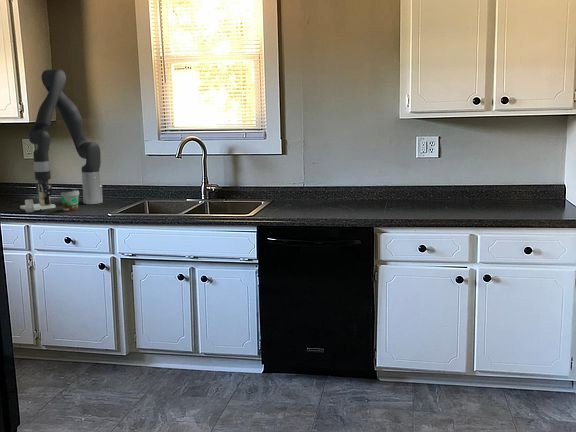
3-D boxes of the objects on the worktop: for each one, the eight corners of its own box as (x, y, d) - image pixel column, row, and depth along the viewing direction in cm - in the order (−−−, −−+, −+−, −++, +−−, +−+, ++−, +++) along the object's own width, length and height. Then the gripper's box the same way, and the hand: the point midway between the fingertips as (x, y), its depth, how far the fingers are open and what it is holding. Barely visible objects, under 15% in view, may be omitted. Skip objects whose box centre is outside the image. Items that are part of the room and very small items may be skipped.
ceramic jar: (31, 210, 338) (31, 199, 337) (35, 211, 335) (34, 200, 334) (24, 211, 335) (23, 200, 334) (27, 212, 332) (26, 200, 331)
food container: (72, 212, 332) (71, 192, 330) (61, 212, 333) (60, 192, 331) (85, 208, 344) (84, 189, 342) (74, 208, 345) (73, 189, 343)
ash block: (47, 204, 339) (46, 190, 338) (50, 205, 336) (49, 191, 335) (39, 205, 336) (38, 191, 335) (43, 206, 334) (42, 192, 332)
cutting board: (45, 205, 355) (45, 202, 355) (55, 207, 348) (55, 204, 347) (20, 208, 345) (20, 205, 345) (29, 210, 338) (29, 208, 337)
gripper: (55, 170, 331) (58, 204, 334) (42, 168, 341) (45, 201, 344) (41, 172, 326) (44, 206, 329) (28, 170, 335) (31, 203, 339)
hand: (45, 203), depth 336 cm, fingers closed on ash block, 4 cm apart
